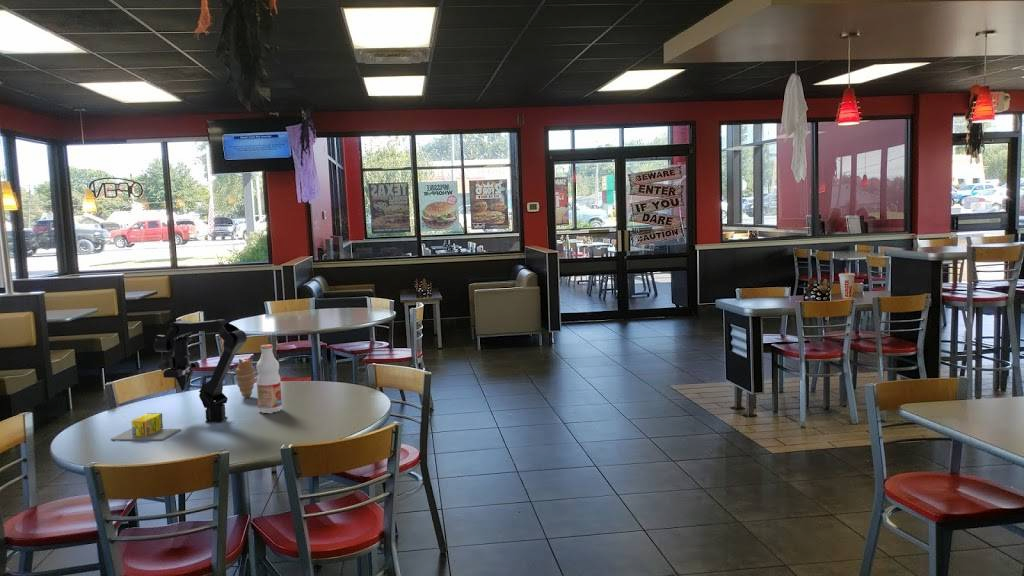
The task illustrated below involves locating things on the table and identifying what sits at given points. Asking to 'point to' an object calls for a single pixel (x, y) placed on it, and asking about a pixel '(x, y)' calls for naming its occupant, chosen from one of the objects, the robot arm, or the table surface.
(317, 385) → the table surface
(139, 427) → the supplement box
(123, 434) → the mat
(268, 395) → the fruit juice
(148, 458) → the table surface
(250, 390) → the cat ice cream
